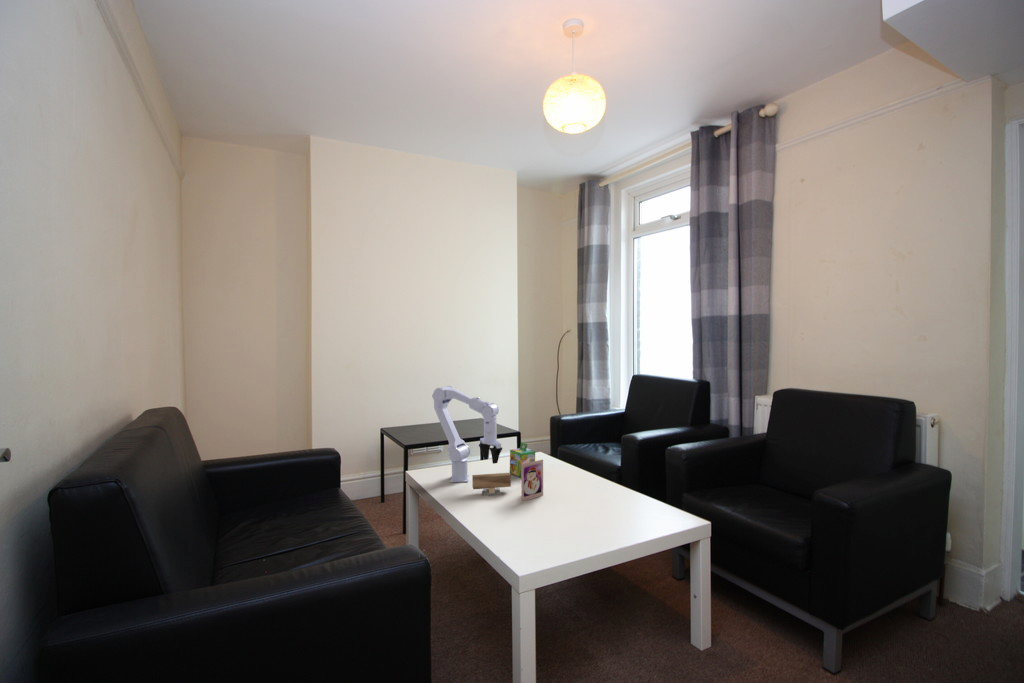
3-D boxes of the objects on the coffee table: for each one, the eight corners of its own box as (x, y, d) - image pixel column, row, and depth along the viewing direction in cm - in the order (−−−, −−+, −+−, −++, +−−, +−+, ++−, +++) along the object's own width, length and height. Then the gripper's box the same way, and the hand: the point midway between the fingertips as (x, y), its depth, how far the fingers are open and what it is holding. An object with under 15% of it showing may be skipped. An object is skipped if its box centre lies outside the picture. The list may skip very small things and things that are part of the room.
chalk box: (509, 473, 226) (509, 443, 226) (524, 470, 232) (523, 440, 231) (520, 478, 219) (520, 446, 218) (536, 474, 224) (535, 443, 224)
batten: (472, 486, 199) (472, 475, 199) (509, 484, 202) (509, 472, 202) (473, 489, 195) (473, 477, 195) (510, 486, 199) (510, 474, 199)
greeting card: (522, 501, 188) (522, 464, 188) (512, 496, 194) (511, 460, 193) (544, 495, 194) (544, 459, 194) (533, 490, 200) (533, 456, 200)
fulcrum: (483, 490, 201) (483, 484, 201) (499, 489, 202) (499, 484, 202) (483, 495, 195) (483, 489, 195) (500, 494, 196) (500, 488, 196)
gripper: (474, 429, 213) (474, 459, 213) (491, 435, 201) (491, 466, 201) (487, 427, 217) (487, 456, 217) (504, 433, 205) (505, 463, 205)
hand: (490, 461), depth 210 cm, fingers open, 7 cm apart
